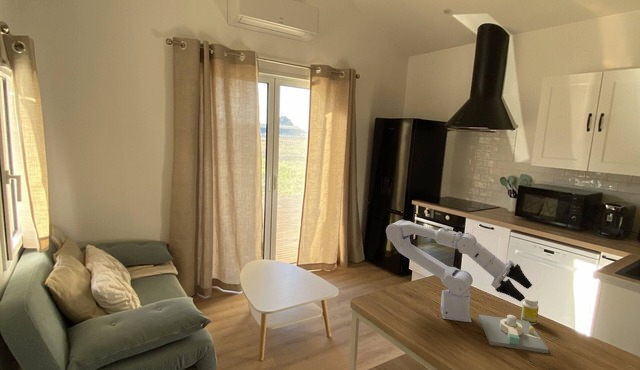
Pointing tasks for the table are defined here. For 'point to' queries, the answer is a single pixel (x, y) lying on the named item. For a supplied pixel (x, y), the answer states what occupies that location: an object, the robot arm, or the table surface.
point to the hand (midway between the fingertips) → (526, 293)
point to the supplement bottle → (530, 310)
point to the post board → (500, 338)
